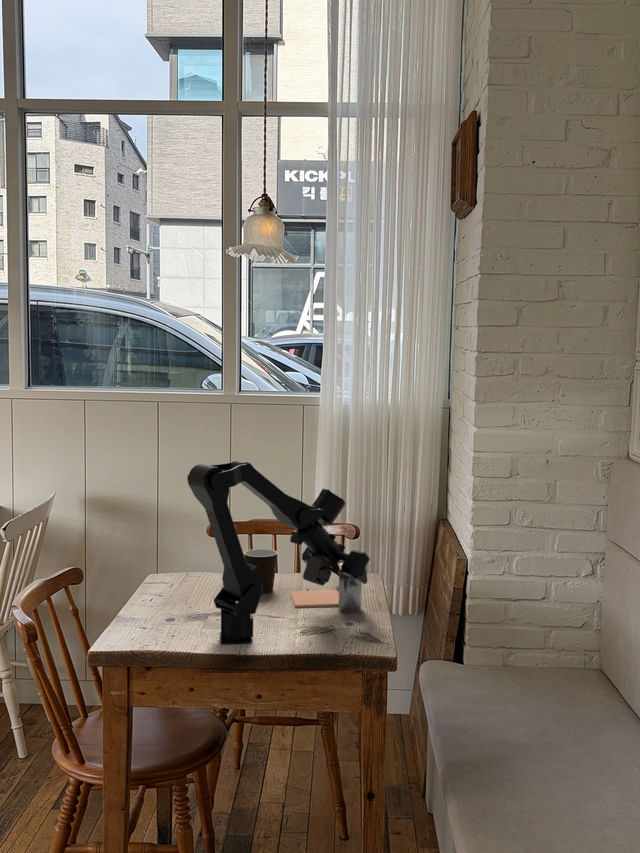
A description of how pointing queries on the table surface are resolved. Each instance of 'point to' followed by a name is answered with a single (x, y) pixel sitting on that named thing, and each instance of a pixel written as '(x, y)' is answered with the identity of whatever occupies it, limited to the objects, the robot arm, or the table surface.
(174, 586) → the table surface
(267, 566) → the coffee mug
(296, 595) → the plate
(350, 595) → the press pot
